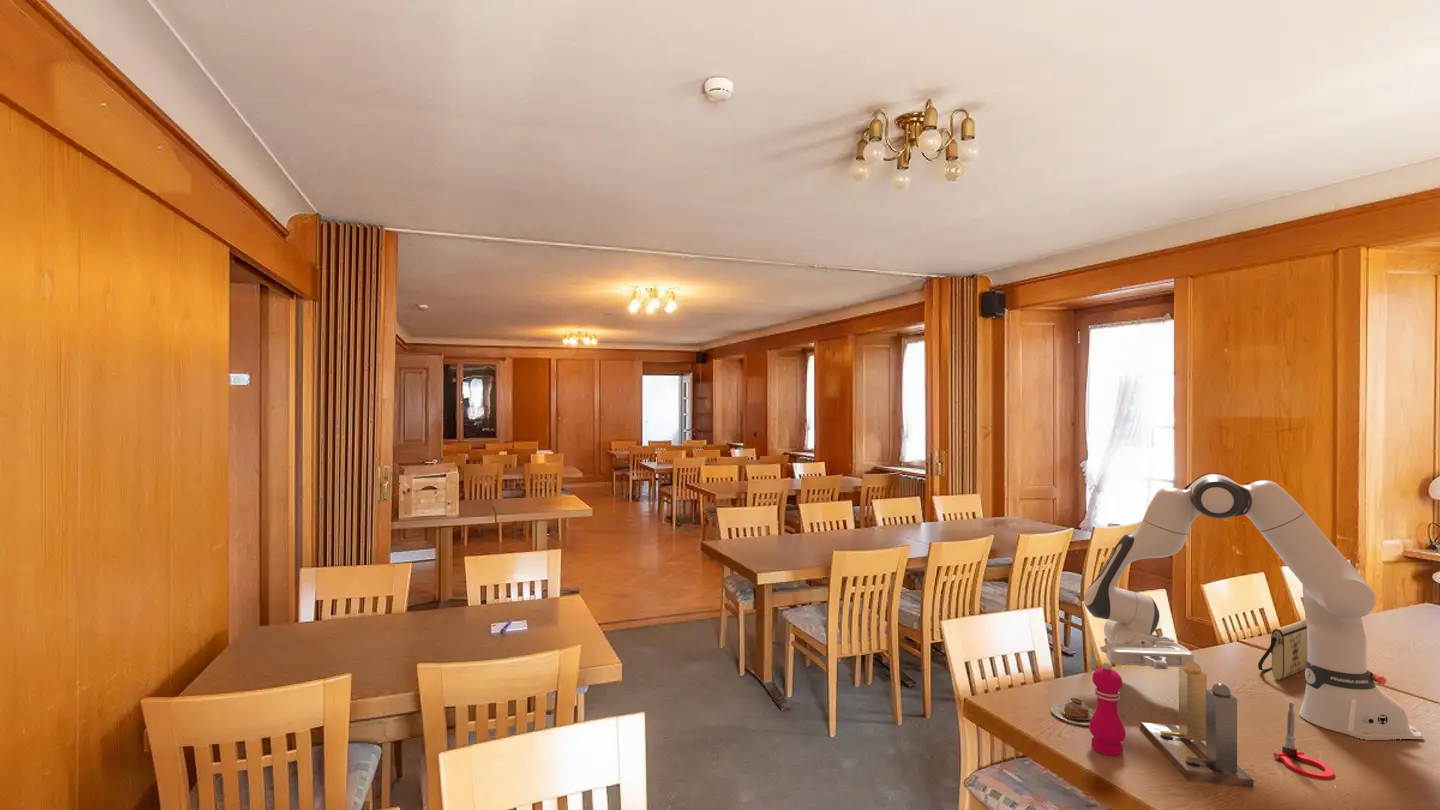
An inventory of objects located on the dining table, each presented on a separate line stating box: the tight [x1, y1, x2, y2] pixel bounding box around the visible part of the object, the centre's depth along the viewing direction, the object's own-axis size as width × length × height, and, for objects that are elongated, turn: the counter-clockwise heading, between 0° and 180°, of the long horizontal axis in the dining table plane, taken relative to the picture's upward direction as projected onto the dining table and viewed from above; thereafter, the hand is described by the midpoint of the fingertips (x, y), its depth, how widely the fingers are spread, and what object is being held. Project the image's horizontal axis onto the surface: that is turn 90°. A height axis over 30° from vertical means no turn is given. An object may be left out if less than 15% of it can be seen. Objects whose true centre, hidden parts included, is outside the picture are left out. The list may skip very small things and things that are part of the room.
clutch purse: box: [1257, 618, 1307, 681], centre depth 204 cm, size 30×7×15 cm, turn 120°
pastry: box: [1050, 697, 1096, 726], centre depth 172 cm, size 12×12×5 cm
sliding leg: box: [1161, 661, 1208, 741], centre depth 156 cm, size 8×4×17 cm, turn 79°
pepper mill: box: [1088, 661, 1126, 757], centre depth 155 cm, size 7×7×20 cm
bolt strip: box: [1142, 722, 1233, 775], centre depth 153 cm, size 9×22×1 cm, turn 169°
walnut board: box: [1139, 721, 1255, 788], centre depth 152 cm, size 12×24×2 cm, turn 169°
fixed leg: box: [1186, 682, 1238, 773], centre depth 145 cm, size 8×4×18 cm, turn 79°
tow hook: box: [1273, 701, 1336, 780], centre depth 147 cm, size 8×13×9 cm
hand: (1161, 666), depth 173 cm, fingers closed
